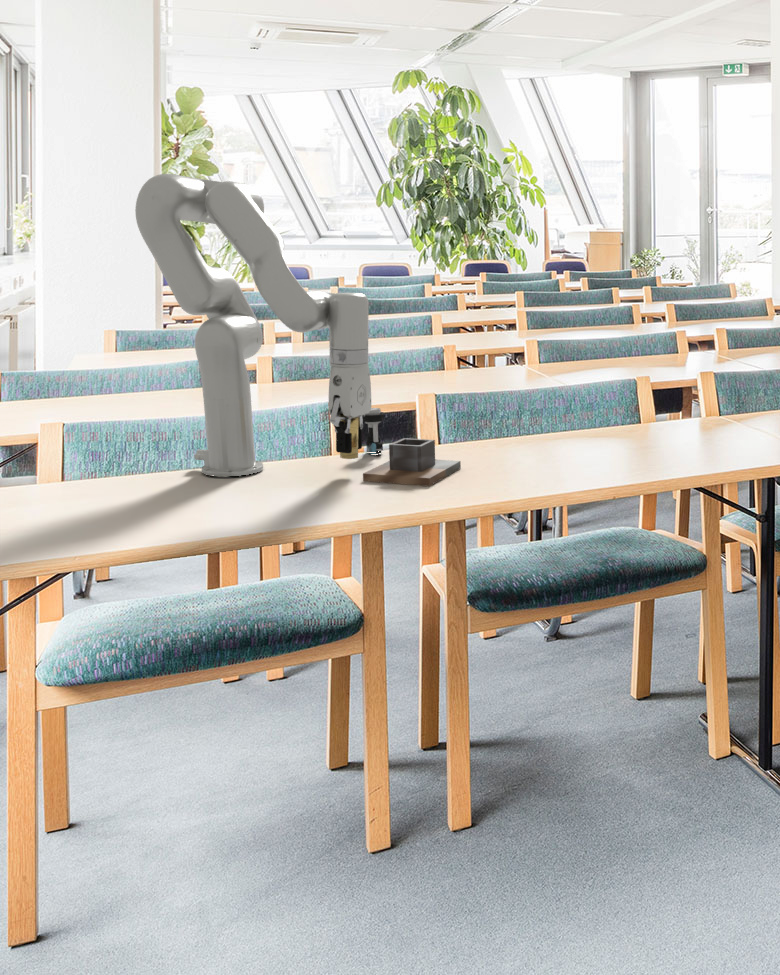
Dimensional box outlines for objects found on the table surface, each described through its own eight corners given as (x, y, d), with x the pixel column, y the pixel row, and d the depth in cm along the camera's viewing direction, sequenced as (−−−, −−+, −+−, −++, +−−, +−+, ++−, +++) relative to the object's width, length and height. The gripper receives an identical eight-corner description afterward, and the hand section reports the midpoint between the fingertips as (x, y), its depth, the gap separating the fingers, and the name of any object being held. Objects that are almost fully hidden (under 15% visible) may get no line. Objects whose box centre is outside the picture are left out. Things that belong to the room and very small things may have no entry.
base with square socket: (363, 480, 181) (361, 448, 179) (397, 464, 195) (396, 433, 193) (429, 486, 175) (428, 452, 173) (460, 468, 189) (460, 436, 187)
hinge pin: (336, 457, 185) (336, 412, 183) (345, 454, 188) (345, 410, 186) (353, 459, 184) (353, 414, 181) (361, 456, 187) (361, 411, 184)
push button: (392, 455, 203) (390, 410, 201) (369, 458, 201) (367, 412, 199) (380, 450, 209) (379, 406, 207) (358, 453, 207) (356, 408, 205)
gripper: (346, 363, 172) (346, 460, 177) (384, 354, 187) (384, 444, 191) (310, 361, 175) (311, 456, 180) (351, 352, 190) (351, 441, 194)
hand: (349, 449), depth 186 cm, fingers closed on hinge pin, 3 cm apart
